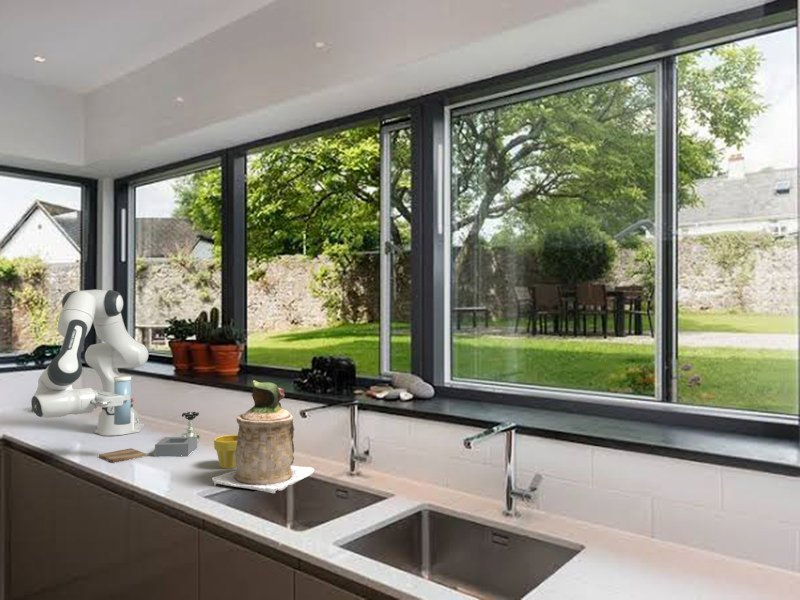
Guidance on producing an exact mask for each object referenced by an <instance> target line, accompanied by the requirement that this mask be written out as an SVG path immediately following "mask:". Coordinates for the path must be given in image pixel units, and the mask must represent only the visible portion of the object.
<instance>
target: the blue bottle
mask: <svg viewBox="0 0 800 600" xmlns="http://www.w3.org/2000/svg"><path fill="white" fill-rule="evenodd" d="M114 394H118V395H130V399H129V400H125V401H123V405H121V406H115V407H114V424H115V425H125V424H130V423H131V398H132V376H130V375H129V376H127V375H122V376H120V377H114Z"/></svg>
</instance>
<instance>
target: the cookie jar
mask: <svg viewBox="0 0 800 600" xmlns="http://www.w3.org/2000/svg"><path fill="white" fill-rule="evenodd" d="M252 385H253V388H252V391H253V392H252V393H251V397H252V399H253V402H254V405H253V407H251V408H250V409H248V410H247V411H246V412H244V413H242V414H241V413H240V414H239V415H237V417H236V422H237V424H238V433H237V435H238V436H237V446H236V451H235V461H236V467H235V468H236V469H235V470H232V471H229V472H225V473H223V474H220V475H217V476H213V477H212V478H211V480H212V482H213V483H214V485H213V486H214V487H215V486H217V485H223V486H226V487H227V486H229V487H235V488H241V489H242V488H243V489H248V490H249V489H250V490H255V491H261V492H264V493H271V494H276V491H283V490H285V489H286V488H287V487H289V486H292V485H294V484H296V483H298V482H300V481H302V480H303V479H305V478H308V477H309V476H312V475H313V473H314V472H315V469H314V467H310V466H298V465H293V464H294V460H295V457H294V453H295V447H294V446H295V445H294V440H293V439H294V432H295V426H294V416H293V415H292V414H291V413H290V411H288V410H287V409H285V408H283V407H282V404H281V403H280V401H281V400H284V398H285V390H284V388H281V387H278V386H277V384H276V383H273V382H268V381H267V382H259V381H257V380H252Z"/></svg>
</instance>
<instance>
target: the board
mask: <svg viewBox="0 0 800 600" xmlns="http://www.w3.org/2000/svg"><path fill="white" fill-rule="evenodd" d="M142 456H145V457H147V453H146V452H143V451H139V450H138V449H134V448H132V447H131V448H125V449H120V450H115V451H109V452H106V453H105V452H104V453H100V454H98V457H99V459H103V460H104V461H105V460H106V461H107V460H108V462H109V461H110V463H112V464H115V462H116V463H120V462H119V461H121V462H125V461H124V460H126V461H129V459H131V460H134V459H133V458H135V459H138V458H137V457H140V458H143V457H142Z"/></svg>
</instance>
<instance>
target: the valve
mask: <svg viewBox="0 0 800 600" xmlns="http://www.w3.org/2000/svg"><path fill="white" fill-rule="evenodd" d="M199 416H200V412H196V411H192V412H191V411H187V412H182V414H181V417H184V418H185V419H186V420H188V422H187V426H188V428H186V432H183V433H182V434H181V435H180V437H197V444H198V443H199V442H200V441H201V440H200V439H201V434H199V432H198V433H197V432H195V427H193V424H194V423H193V420H194V419H195V418H196V417H199Z"/></svg>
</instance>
